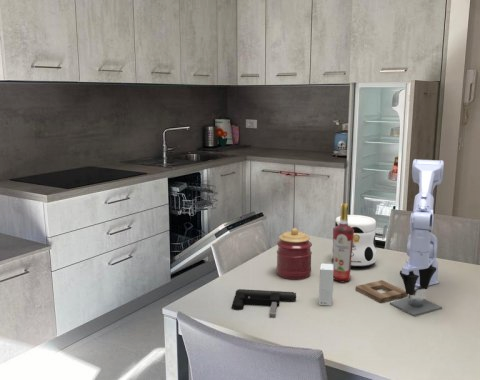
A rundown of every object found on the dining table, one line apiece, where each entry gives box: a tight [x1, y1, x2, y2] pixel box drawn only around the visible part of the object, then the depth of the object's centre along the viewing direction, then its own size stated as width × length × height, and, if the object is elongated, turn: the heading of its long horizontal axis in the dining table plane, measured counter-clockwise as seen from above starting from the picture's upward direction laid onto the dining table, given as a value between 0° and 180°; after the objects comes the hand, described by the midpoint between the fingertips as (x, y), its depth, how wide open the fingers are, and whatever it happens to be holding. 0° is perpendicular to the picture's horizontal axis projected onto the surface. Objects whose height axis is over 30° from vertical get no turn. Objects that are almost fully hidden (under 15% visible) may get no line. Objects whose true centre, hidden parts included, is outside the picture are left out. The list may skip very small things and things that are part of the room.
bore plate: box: [355, 279, 409, 304], centre depth 163 cm, size 12×12×2 cm
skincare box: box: [318, 263, 334, 306], centre depth 155 cm, size 6×4×12 cm
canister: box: [276, 227, 313, 280], centre depth 179 cm, size 13×13×18 cm
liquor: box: [332, 202, 354, 283], centre depth 172 cm, size 7×7×28 cm
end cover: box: [408, 286, 425, 308], centre depth 152 cm, size 4×4×6 cm
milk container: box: [331, 214, 378, 268], centre depth 191 cm, size 17×17×18 cm
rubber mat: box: [389, 297, 443, 317], centre depth 152 cm, size 12×10×1 cm
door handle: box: [231, 288, 297, 319], centre depth 153 cm, size 3×20×16 cm
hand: (416, 291), depth 152 cm, fingers open, 7 cm apart
